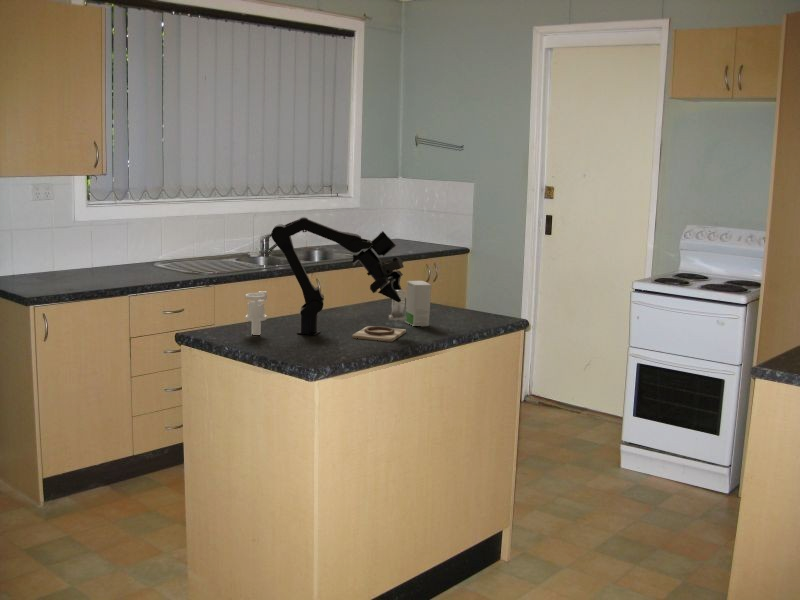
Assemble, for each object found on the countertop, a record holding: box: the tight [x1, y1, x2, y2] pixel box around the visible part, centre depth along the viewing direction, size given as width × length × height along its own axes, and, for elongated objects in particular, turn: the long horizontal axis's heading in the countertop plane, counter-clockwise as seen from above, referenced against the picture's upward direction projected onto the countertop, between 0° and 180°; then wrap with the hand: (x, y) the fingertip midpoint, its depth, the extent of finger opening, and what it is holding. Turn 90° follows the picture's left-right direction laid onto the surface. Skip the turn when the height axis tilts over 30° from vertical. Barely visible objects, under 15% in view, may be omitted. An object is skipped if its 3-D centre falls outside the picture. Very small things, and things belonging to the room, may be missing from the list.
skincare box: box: [404, 280, 432, 327], centre depth 326 cm, size 8×7×16 cm
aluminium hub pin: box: [388, 288, 407, 322], centre depth 304 cm, size 6×6×10 cm
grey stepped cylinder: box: [244, 290, 268, 336], centre depth 302 cm, size 7×7×15 cm
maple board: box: [351, 325, 407, 343], centre depth 308 cm, size 16×14×2 cm
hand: (402, 300), depth 303 cm, fingers closed on aluminium hub pin, 4 cm apart
